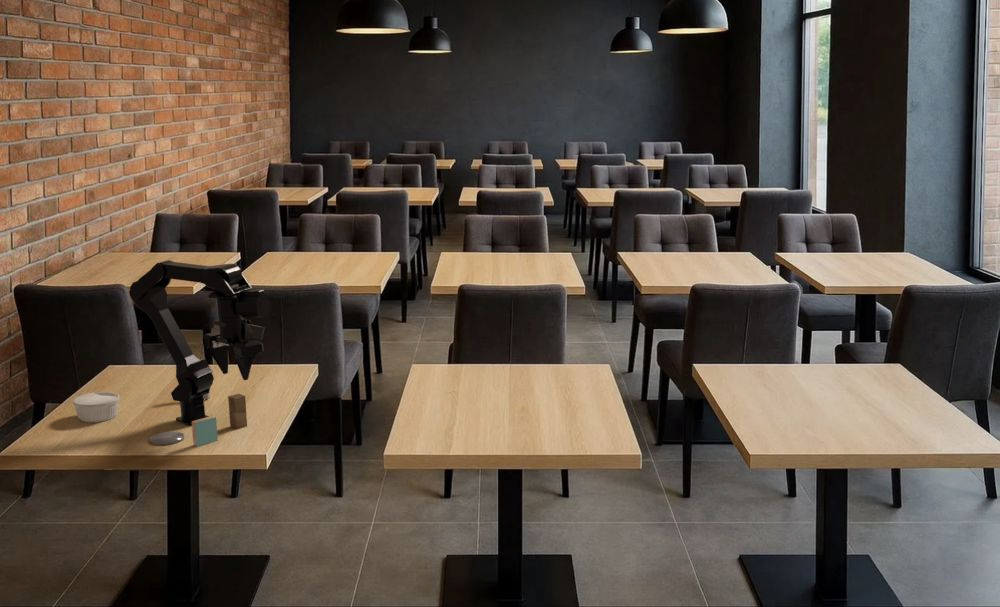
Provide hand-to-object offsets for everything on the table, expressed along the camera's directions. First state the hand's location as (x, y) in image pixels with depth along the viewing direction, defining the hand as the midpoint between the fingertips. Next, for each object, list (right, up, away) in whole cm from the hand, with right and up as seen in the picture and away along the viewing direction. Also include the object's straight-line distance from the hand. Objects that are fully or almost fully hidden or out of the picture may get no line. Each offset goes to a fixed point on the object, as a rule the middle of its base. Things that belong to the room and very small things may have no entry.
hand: (235, 376), depth 259 cm
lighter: (-17, -8, +25) cm, 32 cm away
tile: (-5, -15, -8) cm, 18 cm away
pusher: (0, -13, +3) cm, 13 cm away
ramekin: (-39, -12, +11) cm, 42 cm away
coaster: (-15, -15, -6) cm, 22 cm away
